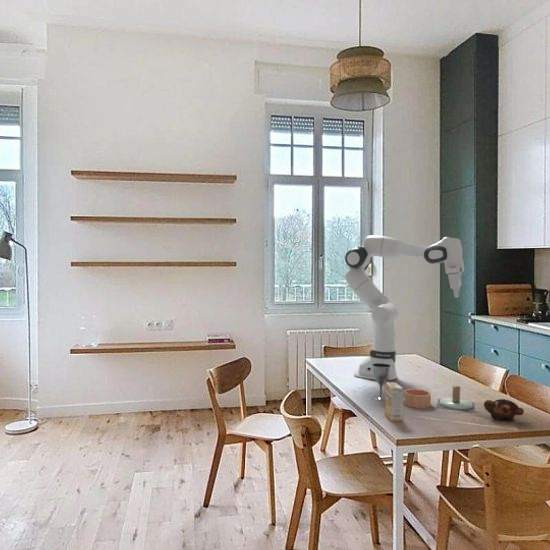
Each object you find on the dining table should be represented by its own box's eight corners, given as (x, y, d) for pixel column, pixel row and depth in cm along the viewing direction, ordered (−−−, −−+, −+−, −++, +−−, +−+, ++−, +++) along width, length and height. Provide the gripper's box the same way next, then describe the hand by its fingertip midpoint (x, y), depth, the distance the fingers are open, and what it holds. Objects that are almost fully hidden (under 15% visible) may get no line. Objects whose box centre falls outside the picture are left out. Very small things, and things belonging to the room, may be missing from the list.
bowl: (402, 407, 207) (402, 394, 207) (405, 400, 217) (405, 387, 217) (429, 410, 203) (430, 397, 203) (431, 403, 214) (431, 390, 213)
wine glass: (379, 401, 214) (380, 367, 214) (367, 397, 222) (368, 363, 221) (393, 399, 218) (394, 366, 218) (381, 395, 225) (382, 362, 225)
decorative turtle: (478, 416, 197) (478, 396, 197) (514, 416, 198) (515, 396, 198) (490, 424, 188) (491, 403, 187) (528, 424, 189) (529, 403, 188)
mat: (436, 409, 205) (436, 407, 205) (438, 399, 219) (438, 398, 219) (475, 413, 200) (475, 412, 200) (474, 404, 214) (474, 402, 214)
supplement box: (384, 414, 197) (385, 382, 196) (395, 414, 197) (396, 382, 197) (390, 421, 188) (391, 387, 188) (403, 421, 189) (403, 387, 188)
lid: (439, 407, 206) (439, 388, 206) (440, 399, 218) (441, 381, 218) (472, 411, 201) (473, 392, 201) (472, 403, 213) (472, 384, 213)
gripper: (449, 268, 255) (452, 295, 255) (445, 270, 236) (448, 299, 237) (462, 267, 252) (465, 294, 252) (459, 269, 234) (462, 298, 234)
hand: (457, 296), depth 244 cm, fingers open, 8 cm apart
